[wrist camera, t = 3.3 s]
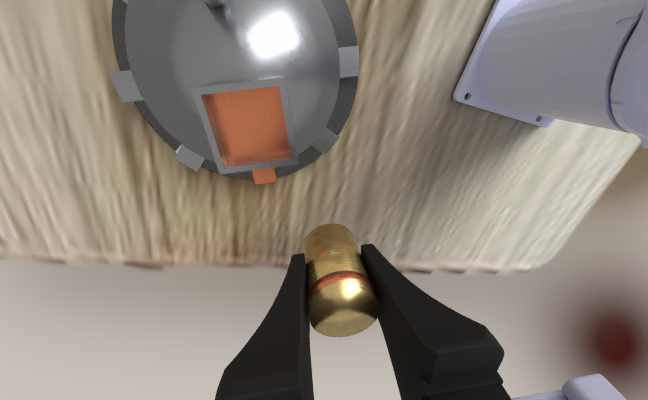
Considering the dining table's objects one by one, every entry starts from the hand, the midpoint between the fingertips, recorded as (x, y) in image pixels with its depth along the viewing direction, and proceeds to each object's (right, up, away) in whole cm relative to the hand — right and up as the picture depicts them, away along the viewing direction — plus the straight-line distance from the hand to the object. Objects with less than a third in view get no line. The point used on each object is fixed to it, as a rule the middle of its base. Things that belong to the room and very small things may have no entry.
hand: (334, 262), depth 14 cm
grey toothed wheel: (-6, +12, +2) cm, 14 cm away
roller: (0, +1, +1) cm, 2 cm away
